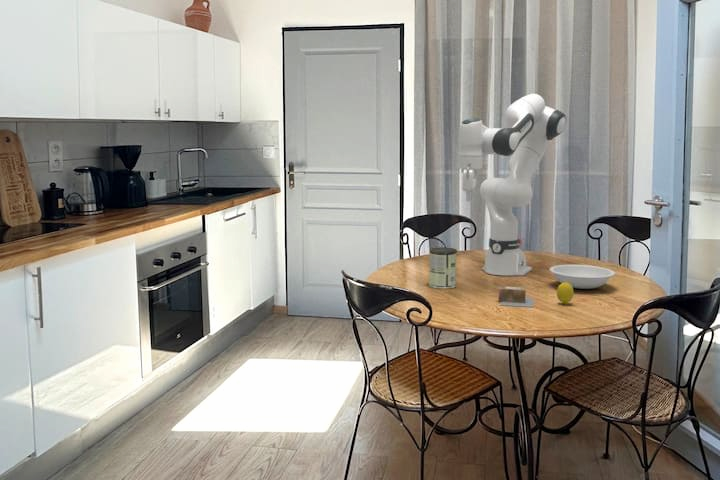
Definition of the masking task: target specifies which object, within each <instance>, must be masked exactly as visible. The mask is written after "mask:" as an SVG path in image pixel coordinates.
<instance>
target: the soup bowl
mask: <svg viewBox="0 0 720 480" xmlns="http://www.w3.org/2000/svg"><path fill="white" fill-rule="evenodd" d="M549 272H551V273H553V275H554V278H555V279H556V280H557V281H558V282H560V284H562V283H564V282H567V283H569V284H570V285H571V286H572V288H573V289H581V290H582V289H583V290H584V289H585V290H586V289H587V290H588V289H597V288H599V287H601V286H603V285H605V284H606V283H607V282H608V281H609V280H610V279H611V278H612V277H614V276H616V271H614V270H612V269H609V268H607V267H601V266H595V265H588V264H560V265H559V264H558V265H553V266H551V267H549Z"/></svg>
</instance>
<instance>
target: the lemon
mask: <svg viewBox="0 0 720 480" xmlns="http://www.w3.org/2000/svg"><path fill="white" fill-rule="evenodd" d="M556 296H557V299H558V300H559V302H561V303H562V304H563V305H566V304H568V303H569V302H571V301H572V300H573V298H574V288H573V287H572V286H571V285H570V284H569V283H567V282H564V283H560V284H559V285H558V287H557V290H556Z"/></svg>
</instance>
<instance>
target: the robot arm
mask: <svg viewBox="0 0 720 480" xmlns="http://www.w3.org/2000/svg"><path fill="white" fill-rule="evenodd" d="M504 119H505V122H506V124H507V126H508V127H504V128H503V127H502V128H501V127H500V128H499V127H496V128H494V127H488V126H486V125H484V124H483V120H482V119H480V118H468V119H464V120H463V121H461V122H460V125H459V133H458V146H459V150H458V154H457V155H458V156H457V169H461V174H462V192H465V198H466V202H468V203H471V202H472V200H473V191H474V189H475V188H476V187H477V182H478V178H479V177H478V176H479V174H480V173H479V170H481V169H483V155H494V156H495V155H497V156H504V157H509V156H511V157H510V159H508V163H507V165H508V169H509V174H508V176H507V177H505V178H501V177H493V178H487V179H485V180H484V181H482V183H481V185H480V186H479V195H480V197H481V199H482V200H483V201H484V203H485V204H486V208H487V210H488V214H489V220H490V232H489V233H490V237H489V238H488V247H489V249H487V250H486V253H485V260H484V266H482V268H481V270H483V271H484V272H485V273H486V274H489V275H495V276H509V277H510V276H525V275H526V274H528V273H530V271H532V269H533V268H532V266H528V265H527V256H526V254H525V253H524V252H523V251H522V250H521V249H520V245H521V244H522V243H523V240H522V238H518V233H519V230H518V229H519V221H518V218H517V217H516V216H515V215H514V213H513V210H512V208H522V207H526V206H528V205H529V204H530V202H531V201H532V199H533V188H532V185H531V181H532V178H533V174H534V172H535V171H536V169H537V167H538V165H539V164H540V162H541V161H542V159H543V157H544V156H545V153H546V151H547V148H548V145H549V142H550V141H552V140H553V139H554V138H556V137H558V136H560V135H561V134H562V133H563V131H564V129H565V127H566V124H567V117H566V114H565V113H564V112H562V111H561V110H558V109H554V108H552V107H550V106H546V101H545V99H544V98H543V97H542V96H541V95H540V94H538V93H529V94H527V95H524V96H522V97H520V98H519V99H516V100H515V101H514V102H513V103H511V104H510V105H509V106H508V107H507V109H505V113H504Z"/></svg>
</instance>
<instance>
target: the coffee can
mask: <svg viewBox="0 0 720 480" xmlns="http://www.w3.org/2000/svg"><path fill="white" fill-rule="evenodd" d="M457 251H458V250H457V249H456V248H452V247H443V246H442V247H441V246H440V247H432V248H429V284H428V286H429V287H430V288H434V289H443V290H444V289H445V290H447V289H454V288H455V287H456V286H457Z"/></svg>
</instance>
